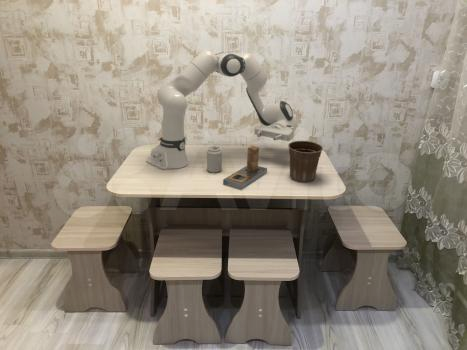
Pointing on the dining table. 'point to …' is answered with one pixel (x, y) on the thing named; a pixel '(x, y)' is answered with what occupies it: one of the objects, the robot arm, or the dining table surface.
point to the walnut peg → (252, 159)
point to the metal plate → (244, 177)
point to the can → (214, 159)
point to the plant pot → (304, 160)
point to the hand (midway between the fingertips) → (266, 137)
